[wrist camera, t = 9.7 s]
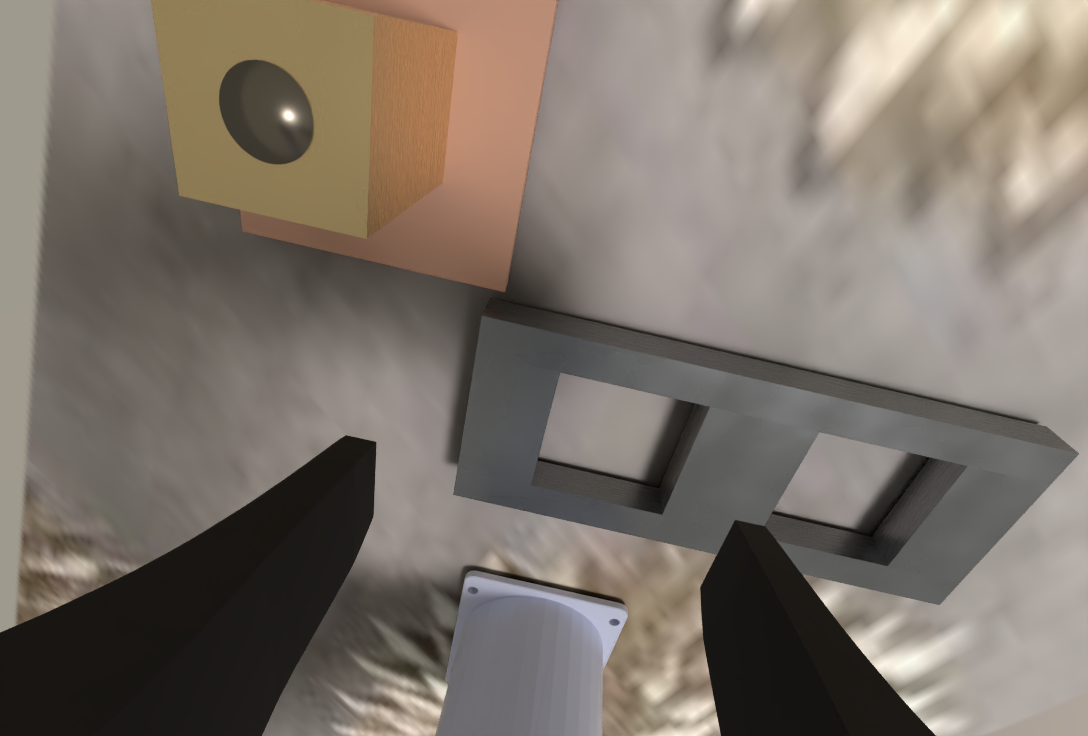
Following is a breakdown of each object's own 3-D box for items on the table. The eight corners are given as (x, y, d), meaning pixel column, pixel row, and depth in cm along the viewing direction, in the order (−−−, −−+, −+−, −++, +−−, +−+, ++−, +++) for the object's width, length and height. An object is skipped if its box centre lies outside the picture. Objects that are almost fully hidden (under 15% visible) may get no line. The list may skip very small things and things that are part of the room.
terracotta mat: (506, 288, 18) (504, 292, 18) (248, 228, 18) (241, 231, 18) (573, -82, 13) (572, -85, 13) (217, -167, 13) (206, -174, 13)
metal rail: (920, 574, 23) (939, 604, 22) (462, 469, 23) (453, 494, 21) (1046, 426, 19) (1079, 453, 18) (490, 297, 19) (481, 315, 17)
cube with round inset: (443, 182, 16) (365, 239, 11) (314, 153, 16) (177, 196, 11) (457, 31, 14) (373, 14, 9) (312, -3, 14) (143, -40, 9)
